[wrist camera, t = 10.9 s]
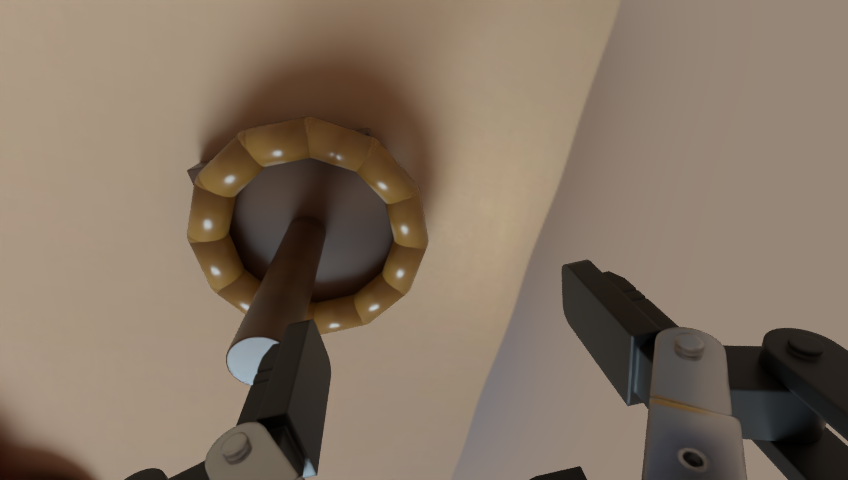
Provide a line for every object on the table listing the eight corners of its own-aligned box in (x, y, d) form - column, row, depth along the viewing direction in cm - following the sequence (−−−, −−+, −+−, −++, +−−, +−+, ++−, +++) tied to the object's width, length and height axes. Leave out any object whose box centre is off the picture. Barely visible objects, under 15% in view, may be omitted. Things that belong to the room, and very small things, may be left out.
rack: (198, 163, 20) (21, 269, 10) (369, 127, 21) (369, 194, 10) (260, 305, 24) (178, 488, 14) (403, 273, 25) (428, 428, 14)
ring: (156, 144, 18) (136, 152, 17) (400, 96, 19) (403, 99, 17) (247, 338, 23) (238, 359, 22) (438, 296, 24) (443, 314, 22)
